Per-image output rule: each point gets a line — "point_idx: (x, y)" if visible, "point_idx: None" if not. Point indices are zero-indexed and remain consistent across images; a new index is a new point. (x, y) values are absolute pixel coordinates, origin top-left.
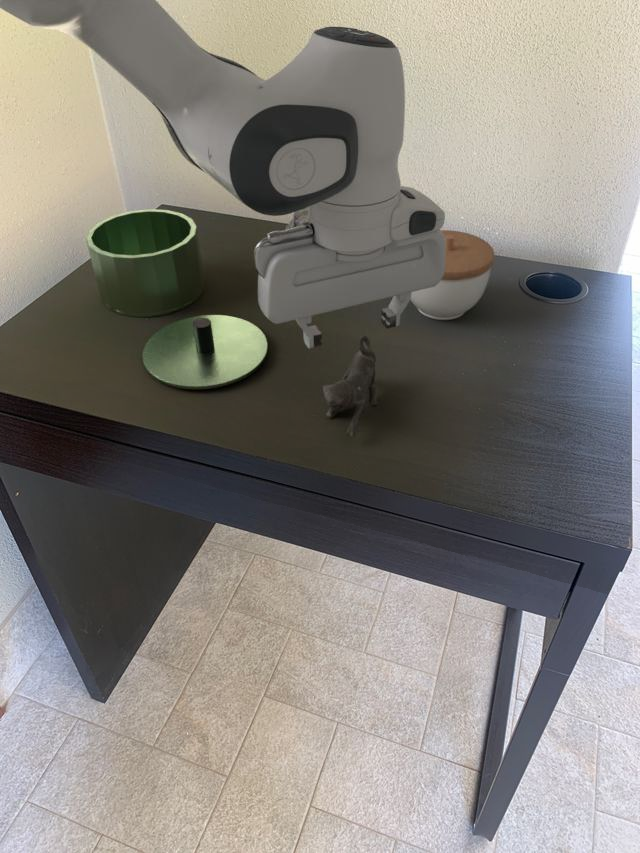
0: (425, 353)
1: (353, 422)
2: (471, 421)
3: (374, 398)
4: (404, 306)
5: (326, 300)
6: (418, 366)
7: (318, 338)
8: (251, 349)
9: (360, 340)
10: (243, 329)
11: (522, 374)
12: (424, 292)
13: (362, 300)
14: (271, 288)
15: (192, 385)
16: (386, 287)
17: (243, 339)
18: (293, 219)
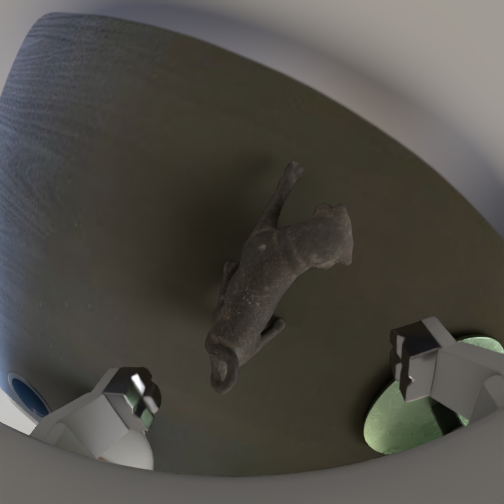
0: (134, 361)
1: (288, 179)
2: (88, 196)
3: (226, 271)
4: (68, 406)
5: (490, 495)
6: (145, 339)
7: (417, 342)
8: (393, 406)
9: (232, 380)
10: (384, 437)
11: (33, 283)
12: (119, 444)
13: (197, 495)
14: None
15: (485, 338)
16: (57, 497)
17: (393, 422)
18: None
